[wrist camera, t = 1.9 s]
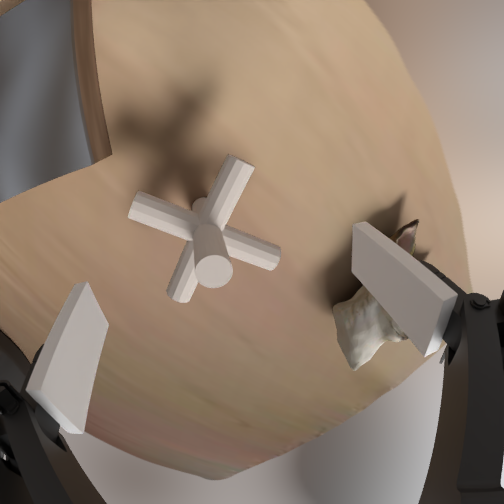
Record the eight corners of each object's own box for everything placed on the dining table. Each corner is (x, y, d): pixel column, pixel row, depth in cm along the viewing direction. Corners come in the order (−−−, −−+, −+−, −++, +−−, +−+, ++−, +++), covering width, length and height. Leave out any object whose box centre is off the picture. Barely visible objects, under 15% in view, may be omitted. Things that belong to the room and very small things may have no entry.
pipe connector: (125, 240, 22) (94, 317, 13) (170, 125, 19) (154, 129, 10) (232, 278, 26) (256, 361, 17) (286, 178, 23) (346, 221, 14)
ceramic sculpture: (336, 364, 21) (459, 236, 20) (296, 306, 29) (397, 205, 27) (378, 394, 26) (472, 297, 24) (343, 346, 34) (425, 264, 32)
